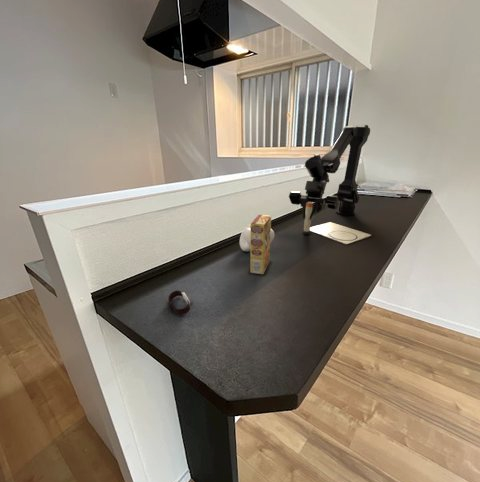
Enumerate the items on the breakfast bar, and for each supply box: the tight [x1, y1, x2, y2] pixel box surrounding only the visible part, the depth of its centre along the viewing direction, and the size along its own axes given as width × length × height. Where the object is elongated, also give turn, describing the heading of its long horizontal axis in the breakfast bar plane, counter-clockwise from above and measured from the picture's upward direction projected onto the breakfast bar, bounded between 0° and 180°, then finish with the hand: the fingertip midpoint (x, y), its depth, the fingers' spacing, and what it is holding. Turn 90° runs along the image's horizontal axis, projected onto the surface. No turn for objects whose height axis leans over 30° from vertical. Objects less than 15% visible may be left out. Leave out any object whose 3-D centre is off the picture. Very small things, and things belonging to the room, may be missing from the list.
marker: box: [303, 202, 314, 235], centre depth 103 cm, size 2×2×12 cm
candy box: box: [249, 214, 272, 275], centre depth 77 cm, size 9×4×15 cm, turn 162°
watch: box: [167, 290, 191, 315], centre depth 61 cm, size 8×5×4 cm, turn 33°
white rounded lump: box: [239, 223, 275, 253], centre depth 89 cm, size 11×12×9 cm
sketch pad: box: [310, 221, 372, 245], centre depth 107 cm, size 20×16×1 cm
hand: (306, 218), depth 102 cm, fingers closed on marker, 2 cm apart
